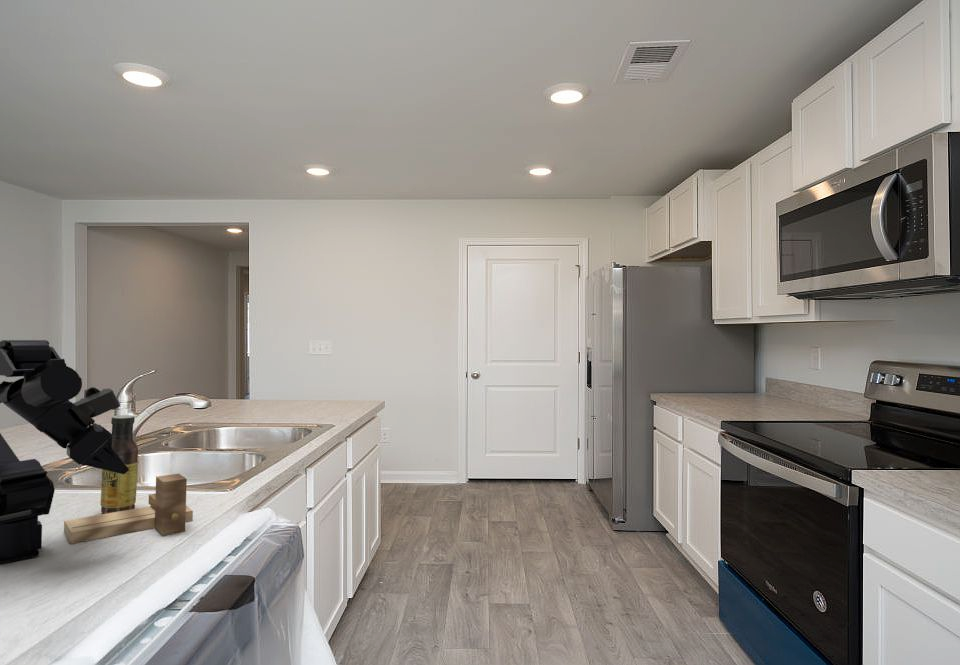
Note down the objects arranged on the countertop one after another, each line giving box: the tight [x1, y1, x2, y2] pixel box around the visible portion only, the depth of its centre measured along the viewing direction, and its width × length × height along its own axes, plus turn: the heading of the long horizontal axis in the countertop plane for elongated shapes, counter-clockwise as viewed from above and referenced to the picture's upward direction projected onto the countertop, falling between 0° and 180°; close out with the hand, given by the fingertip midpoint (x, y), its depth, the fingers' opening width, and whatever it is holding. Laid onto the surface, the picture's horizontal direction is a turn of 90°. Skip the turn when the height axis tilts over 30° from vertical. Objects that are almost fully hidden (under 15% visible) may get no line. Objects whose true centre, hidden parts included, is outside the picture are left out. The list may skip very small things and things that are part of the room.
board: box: [63, 505, 194, 545], centre depth 110 cm, size 20×8×2 cm, turn 133°
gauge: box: [148, 473, 188, 537], centre depth 112 cm, size 4×15×10 cm, turn 43°
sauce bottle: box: [99, 414, 139, 514], centre depth 118 cm, size 7×6×20 cm
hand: (120, 466), depth 102 cm, fingers open, 9 cm apart
